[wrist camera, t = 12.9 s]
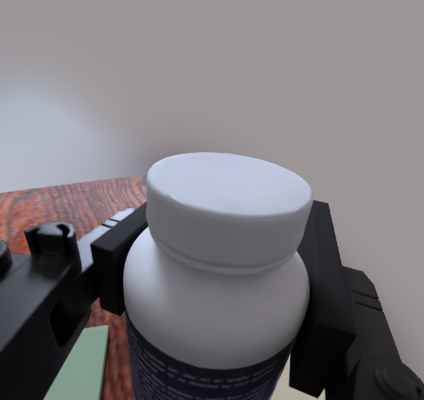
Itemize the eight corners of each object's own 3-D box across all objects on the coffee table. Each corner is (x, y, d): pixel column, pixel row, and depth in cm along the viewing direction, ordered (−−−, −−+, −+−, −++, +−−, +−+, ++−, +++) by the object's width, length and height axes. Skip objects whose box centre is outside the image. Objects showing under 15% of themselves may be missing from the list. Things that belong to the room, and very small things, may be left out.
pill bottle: (280, 470, 8) (425, 249, 4) (119, 484, 8) (57, 240, 3) (247, 324, 13) (292, 150, 8) (146, 326, 12) (137, 138, 8)
